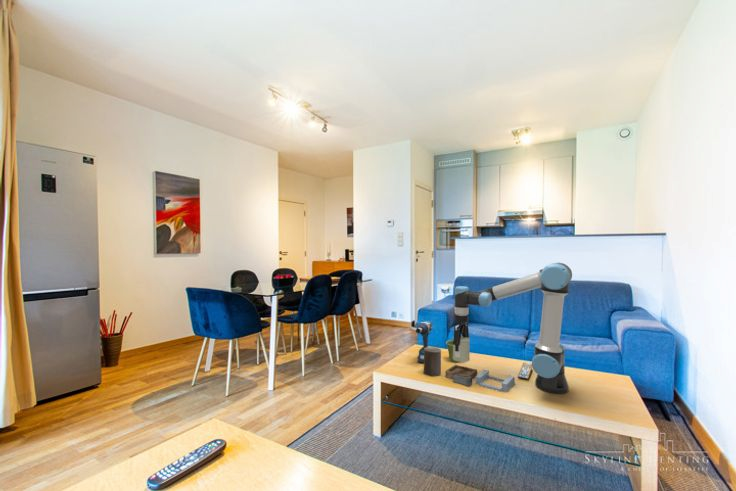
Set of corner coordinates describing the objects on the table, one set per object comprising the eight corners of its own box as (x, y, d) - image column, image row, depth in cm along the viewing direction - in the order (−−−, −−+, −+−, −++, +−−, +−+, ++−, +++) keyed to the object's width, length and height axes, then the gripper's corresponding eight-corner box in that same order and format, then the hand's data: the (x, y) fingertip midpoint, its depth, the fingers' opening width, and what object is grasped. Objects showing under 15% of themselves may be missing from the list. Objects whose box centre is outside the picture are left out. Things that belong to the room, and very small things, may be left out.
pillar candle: (425, 376, 190) (426, 349, 189) (422, 370, 199) (422, 344, 199) (442, 376, 190) (443, 349, 190) (438, 370, 200) (439, 344, 200)
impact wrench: (411, 366, 205) (411, 325, 205) (423, 355, 225) (423, 318, 225) (424, 368, 201) (424, 326, 201) (435, 357, 221) (435, 319, 221)
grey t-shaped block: (472, 383, 179) (472, 377, 179) (469, 386, 176) (469, 379, 176) (456, 379, 184) (456, 372, 184) (452, 381, 181) (452, 375, 181)
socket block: (515, 383, 180) (515, 376, 180) (506, 393, 168) (506, 385, 168) (485, 376, 190) (485, 369, 190) (474, 384, 178) (474, 377, 178)
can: (457, 355, 196) (457, 334, 196) (472, 358, 190) (472, 337, 190) (449, 359, 189) (449, 337, 189) (465, 363, 183) (465, 340, 183)
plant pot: (453, 356, 224) (453, 339, 224) (468, 361, 215) (468, 343, 215) (441, 360, 216) (442, 342, 216) (457, 365, 207) (457, 346, 207)
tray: (477, 375, 190) (477, 369, 190) (467, 383, 180) (467, 376, 180) (455, 370, 198) (455, 364, 198) (445, 377, 188) (445, 370, 188)
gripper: (463, 310, 200) (462, 348, 200) (446, 316, 183) (446, 358, 183) (475, 312, 195) (475, 351, 195) (459, 318, 179) (459, 361, 179)
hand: (461, 354), depth 189 cm, fingers closed on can, 9 cm apart
